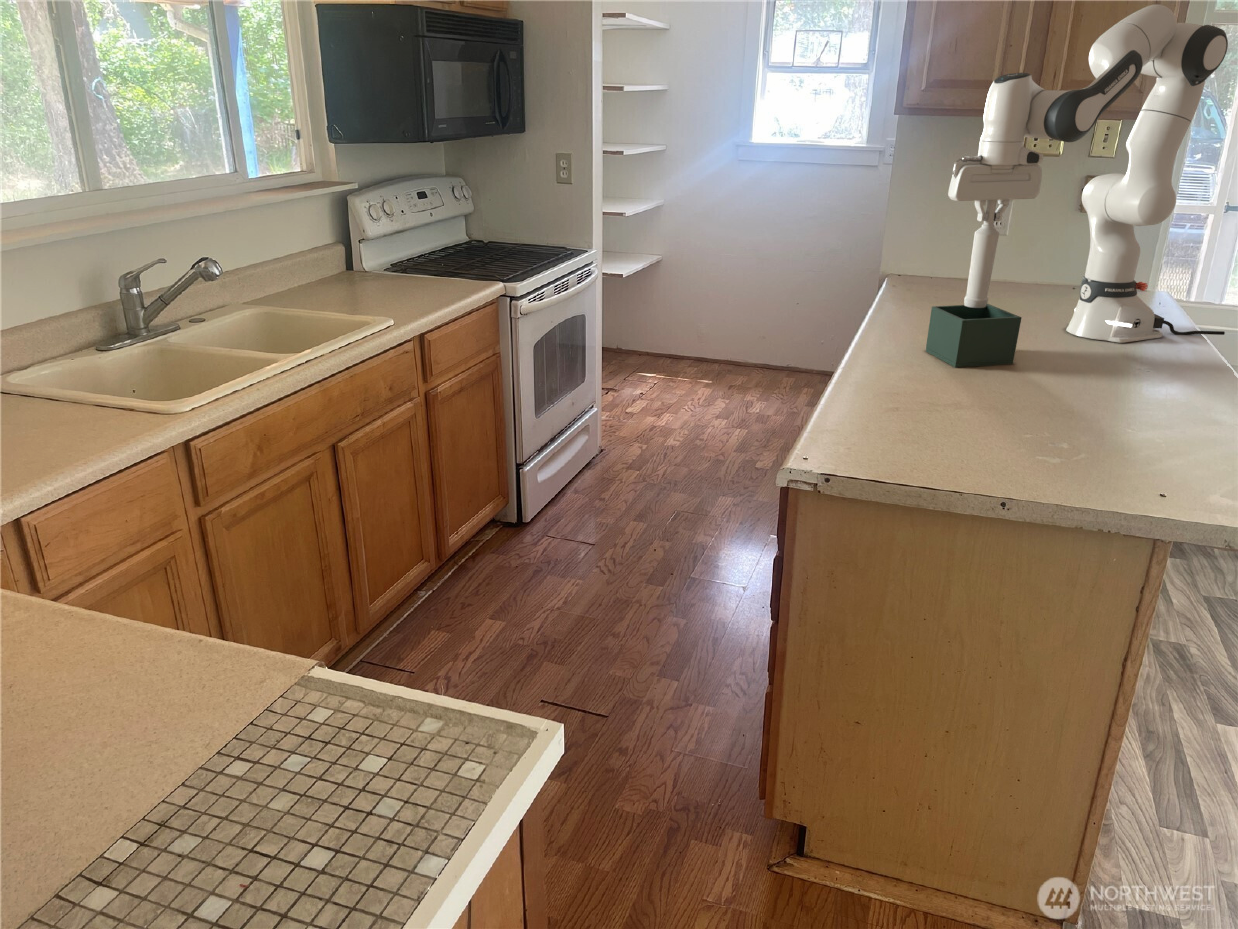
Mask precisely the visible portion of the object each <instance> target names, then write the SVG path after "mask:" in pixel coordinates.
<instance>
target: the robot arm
mask: <svg viewBox="0 0 1238 929" xmlns="http://www.w3.org/2000/svg"><path fill="white" fill-rule="evenodd" d="M1228 40H1229V39H1228V37H1227V33H1226V31H1225V30H1224V29H1222V28H1221V27H1218V26H1215V25H1211V24H1204V25H1203V24H1197V23H1191V22H1190V23H1189V22H1177V18H1176V16H1175V13H1174V11H1173V10H1171V9H1170V8H1169V7H1167V6H1166V5H1163V4H1150V5H1147V6H1145V7H1142V8H1140V9H1138V10H1137V11H1135V12H1133V13H1131V14H1129V15H1127V16H1126V17H1124V18H1123V19H1121V20H1120V21H1118V22H1116V23H1115V24H1114V25H1112V26H1110V28H1108V29H1107V30H1106V31H1104V32H1103V33H1102V34H1101V35H1100V36H1098V38H1096V40H1095V41H1094V42H1093V44H1092V45H1091V46H1090V50H1089V54H1088V65H1089V69H1090V71H1091V73H1092V75H1093V76H1094V78H1095V79H1094V80H1093V81H1092V82H1091V83H1089V84H1088V85H1087V86H1086V87H1083V88H1080V89H1079V88H1078V89H1071V90H1069V89H1068V90H1060V89H1059V90H1055V89H1053V90H1050V89H1045V88H1043V87H1041V86H1040V85H1038V84H1037V83H1036V82H1035V81H1034V80H1033V77H1032V74H1031V73H1028V72H1014V73H1007V74H1002V75H999V76H997V77H996V78H995V79H994V80H993V81H992V83H991V85H990V87H989V90H988V93H987V97H986V102H985V106H984V111H983V112H984V113H983V131H982V134H981V136H980V139H979V145H978V150H977V151H978V153H977V155H970V156H968V155H963V156H960V157H959V158H958V159H957V160H956V161H955V162H954V164H953V168H952V175H951V179H950V182H949V186H948V192H947V195H948V198H949V200H951V201H955V202H973V201H974V207H975V209H976V212H977V218H976V221H977V222H984V221H987V219H988V218H987V217H988V213H986V210H985V208H984V207H985V206H987V200H997V204H998V207H997V208H996V209H995V215H994V221H993V222H1001V221H1002V217H1003V213H1004V212H1005V211H1006V210H1007V208H1008V207H1009V205H1010V200H1035V199H1036V198H1037V197H1038V196H1039V194H1040V191H1041V186H1042V180H1043V179H1042V178H1043V169H1042V166H1041V164H1042V163H1043V162H1044V154H1042V153H1041V152H1038V151H1035V150H1033V149H1030V148H1028V147H1025V146H1024V145H1025V138H1031V139H1041V140H1042V139H1043V140H1053V141H1059V142H1063V143H1073V142H1074V143H1075V142H1078V141H1079V140H1081V139H1082V138H1084V137H1085V136H1086V135H1087V134H1088V133H1089V132H1090V131H1091V129H1093V127H1094V125H1095V124H1096V123H1097V121H1098V120H1099V119H1100V117H1101V116H1102V114H1104V112H1105V111H1106V110H1108V108H1109V107H1111V106H1112V105H1113V104H1114V103H1115V102H1116V101H1117V100H1118V99H1119V98H1120V97H1121V96H1122V95H1123V94H1124V93H1125V92H1126V91H1128V89H1129V88H1131V86H1132V85H1133V84H1134V83H1135V82H1136V80H1137V79H1138V78H1139V76H1140V75H1145V76H1151V77H1156V81H1155V83H1154V86H1152V88H1151V91H1149V94H1148V95H1147V98H1146V99H1145V101H1144V103H1143V106H1142V107H1141V109H1140V111H1139V114H1138V116H1137V118H1136V120H1135V122H1134V124H1133V127H1132V129H1131V131H1130V132H1129V135H1128V138H1127V140H1126V141H1125V142H1126V143H1125V148H1126V151H1127V152H1128V165H1127V169H1126V173H1125V174H1124V173H1119V172H1113V173H1105V174H1101V175H1097V176H1095V177H1093V178H1092V179H1090V181H1088V182H1087V184H1085V186H1084V188H1083V190H1082V194H1081V204H1082V207H1083V209H1084V210H1085V212H1086V214H1087V218H1088V226H1089V236H1090V237H1089V238H1090V239H1089V241H1090V244H1089V252H1088V256H1087V263H1086V268H1085V274H1084V275H1083V276H1082V278H1081V282H1080V287H1079V298H1078V301H1077V304H1076V306H1075V308H1074V312H1073V315H1072V317H1071V319H1070V322H1069V323H1068V325H1067V327H1066V329H1065V331H1066V332H1068V333H1069V334H1070V335H1074V336H1078V337H1080V338H1085V339H1090V340H1099V341H1108V342H1113V343H1118V344H1119V343H1120V344H1123V343H1124V344H1125V343H1132V342H1137V341H1138V342H1139V341H1145V340H1153V339H1160V338H1163V332H1162V331H1160V330H1161V329H1163V325H1166V326H1168V327H1169V331H1170V333H1171V334H1173V335H1175V336H1189V335H1191V336H1192V335H1215V336H1216V335H1217V336H1224V335H1225V334H1226V332H1225V331H1222V330H1221V331H1219V330H1187V331H1178V330H1175V327H1174V324H1173V323H1172V322H1170V321H1168V320H1165V317H1162V316H1160V315H1158V314H1156V313H1155V312H1154V310H1153V309H1152V308H1151V307H1150V306H1148V304H1146V302H1144V301H1143V300H1142V299H1141V298H1140V297H1139V296H1138V291H1141V292H1144V291H1146V290H1148V288H1149V284H1148V283H1147V282H1143V281H1136V280H1135V277H1136V273H1137V268H1138V264H1139V260H1140V256H1141V246H1140V244H1139V242H1138V241H1137V239H1136V235H1135V229H1134V228H1135V227H1145V226H1146V227H1147V226H1155V225H1159V224H1161V223H1162V222H1164V221H1166V220H1167V219H1168V218H1169V217H1170V215H1171V214H1172V213H1173V211H1174V209H1175V206H1176V204H1177V203H1176V202H1177V195H1176V191H1175V190H1174V187H1173V182H1172V181H1173V180H1172V179H1173V169H1174V164H1175V160H1176V157H1177V154H1178V151H1179V149H1180V147H1181V146H1182V145H1181V144H1182V142H1183V140H1184V138H1185V136H1186V135H1187V134H1186V133H1187V131H1188V130H1189V127H1190V126H1191V123H1192V121H1193V119H1194V117H1195V114H1196V112H1197V110H1198V106H1199V104H1200V101H1201V98H1202V95H1203V92H1204V88H1205V85H1206V80H1207V79H1208V78H1209V77H1210V76H1211V75H1213V73H1215V72H1216V70H1217V69H1218V68H1219V67H1220V66H1221V64H1222V63H1223V61H1224V60H1225V58H1226V55H1227V53H1228V48H1229V41H1228ZM1159 329H1160V330H1159Z"/></svg>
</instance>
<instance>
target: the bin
mask: <svg viewBox="0 0 1238 929" xmlns="http://www.w3.org/2000/svg"><path fill="white" fill-rule="evenodd" d="M930 309H931V310H930V317H929V324H928V331H927V338H926V344H925V352H926V353H928V354H929V355H931V356H933V357H935V358H937V359H939V360H940V361H942V362H944V363H946V364H948V365H950V366H951V367H953V368H955V369H957V368H968V367H987V366H988V367H989V366H1003V365H1004V366H1005V365H1013V364H1014V361H1015V356H1016V350H1017V345H1018V339H1019V333H1020V330H1021V329H1020V328H1021V323H1022V316H1019V315H1016V314H1014V313H1012V312H1010V311H1007V310H1005V309H1002V308H999V307H997V306H994V305H992V304H989V303H987V306H986V307H984V308H972V307H967V306H965V305H964V304H955V305H954V304H953V305H951V304H950V305H935V306H934V305H933V306H931V308H930Z"/></svg>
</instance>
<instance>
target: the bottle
mask: <svg viewBox="0 0 1238 929" xmlns="http://www.w3.org/2000/svg"><path fill="white" fill-rule="evenodd" d="M997 204H998V200H986V207H985V213H988V217H987V218H988V219H987V221H983V223H982V224H981V226H980V227H979V228H978V229H977V230H975V231H974V235H973V242H972V250H971V256H970V257H971V258H970V265H969V272H968V280H967V286H966V287H967V288H966V293H965V296H964V300H963V305H965V306H967V307H972V308H984V307H986V306H987V304H989V298H988V295H989V291H990V290H989V289H990V285H991V280H992V273H993V269H994V264H995V258H996V253H997V247H998V243H999V236H1000V232H999V231H998V230H997V228H996V227H995V224H994V222H995V221H994V215H995V211H996V210H997V208H996V207H997Z"/></svg>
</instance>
